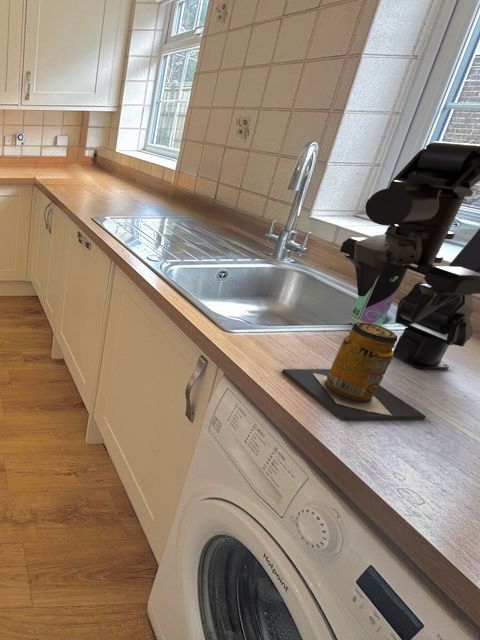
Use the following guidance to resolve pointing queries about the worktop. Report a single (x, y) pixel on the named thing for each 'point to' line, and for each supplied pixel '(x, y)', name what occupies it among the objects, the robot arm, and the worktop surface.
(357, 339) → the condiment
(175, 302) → the worktop surface
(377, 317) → the spray can
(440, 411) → the worktop surface
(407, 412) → the mat
